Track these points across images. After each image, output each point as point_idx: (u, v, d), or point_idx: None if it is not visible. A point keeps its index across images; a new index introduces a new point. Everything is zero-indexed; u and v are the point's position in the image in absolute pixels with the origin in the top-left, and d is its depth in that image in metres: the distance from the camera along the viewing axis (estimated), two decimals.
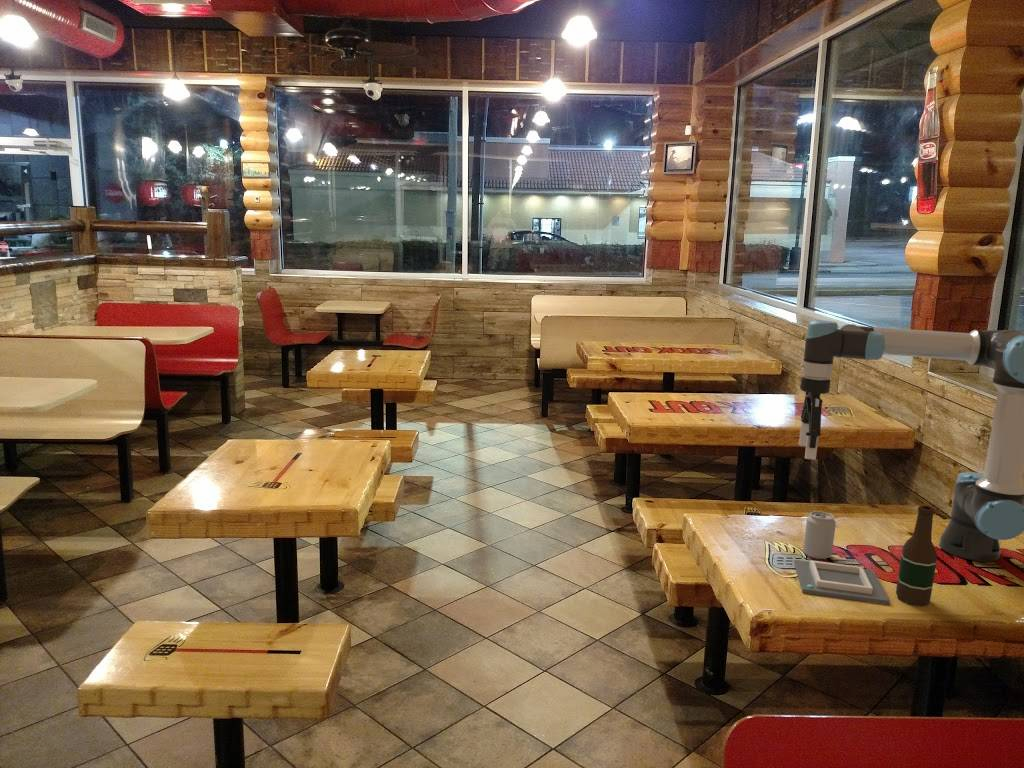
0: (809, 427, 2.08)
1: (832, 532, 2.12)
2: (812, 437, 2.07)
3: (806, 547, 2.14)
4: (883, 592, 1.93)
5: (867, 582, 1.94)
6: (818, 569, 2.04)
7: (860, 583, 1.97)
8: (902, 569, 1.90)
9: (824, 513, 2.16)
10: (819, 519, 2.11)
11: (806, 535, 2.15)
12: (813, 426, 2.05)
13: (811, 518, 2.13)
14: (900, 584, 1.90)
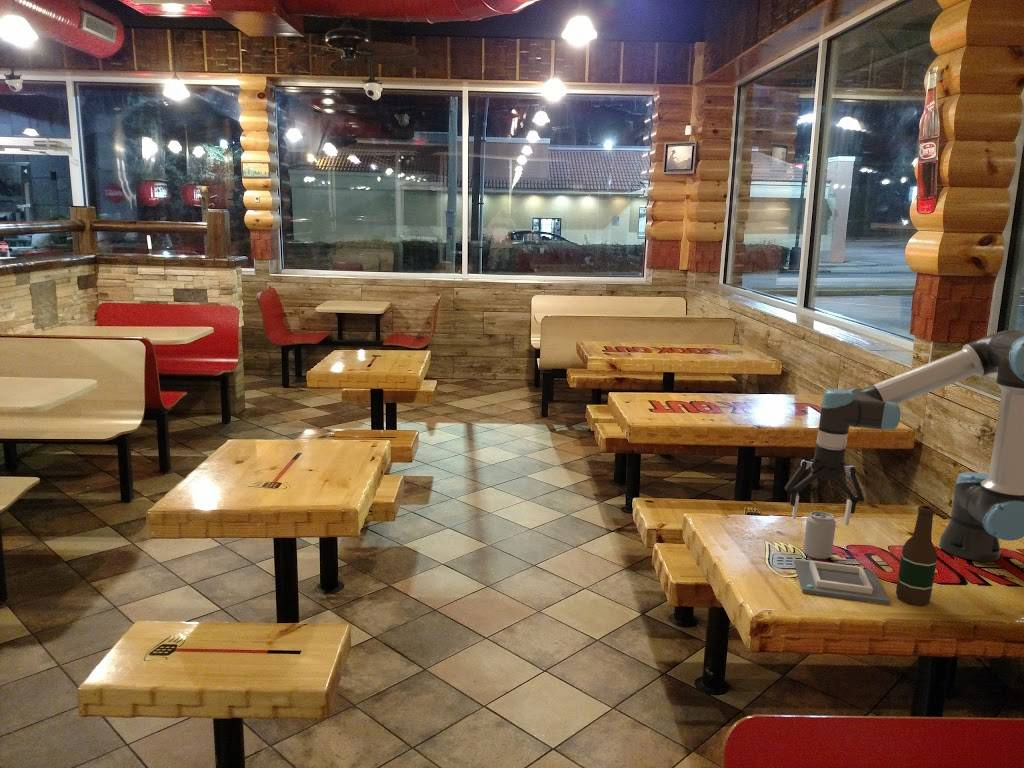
0: (796, 485, 2.15)
1: (832, 532, 2.12)
2: None
3: (806, 547, 2.14)
4: (883, 592, 1.93)
5: (867, 582, 1.94)
6: (818, 569, 2.04)
7: (860, 583, 1.97)
8: (902, 569, 1.90)
9: (824, 513, 2.16)
10: (819, 519, 2.11)
11: (806, 535, 2.15)
12: (788, 482, 2.15)
13: (811, 518, 2.13)
14: (900, 584, 1.90)
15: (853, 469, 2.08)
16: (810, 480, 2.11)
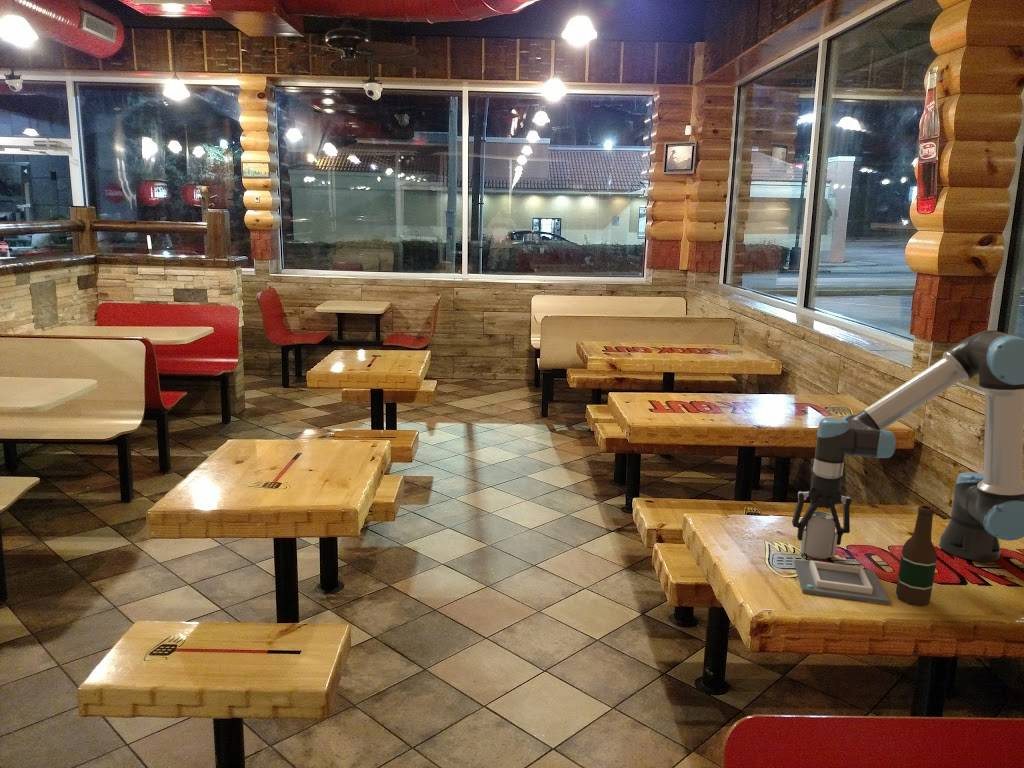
0: (801, 519, 2.16)
1: (832, 532, 2.12)
2: (798, 528, 2.16)
3: (806, 547, 2.14)
4: (883, 592, 1.93)
5: (867, 582, 1.94)
6: (818, 569, 2.04)
7: (860, 583, 1.97)
8: (902, 569, 1.90)
9: (824, 513, 2.16)
10: (819, 519, 2.11)
11: (806, 535, 2.15)
12: (793, 516, 2.16)
13: (811, 518, 2.13)
14: (900, 584, 1.90)
15: (849, 501, 2.10)
16: (812, 511, 2.13)
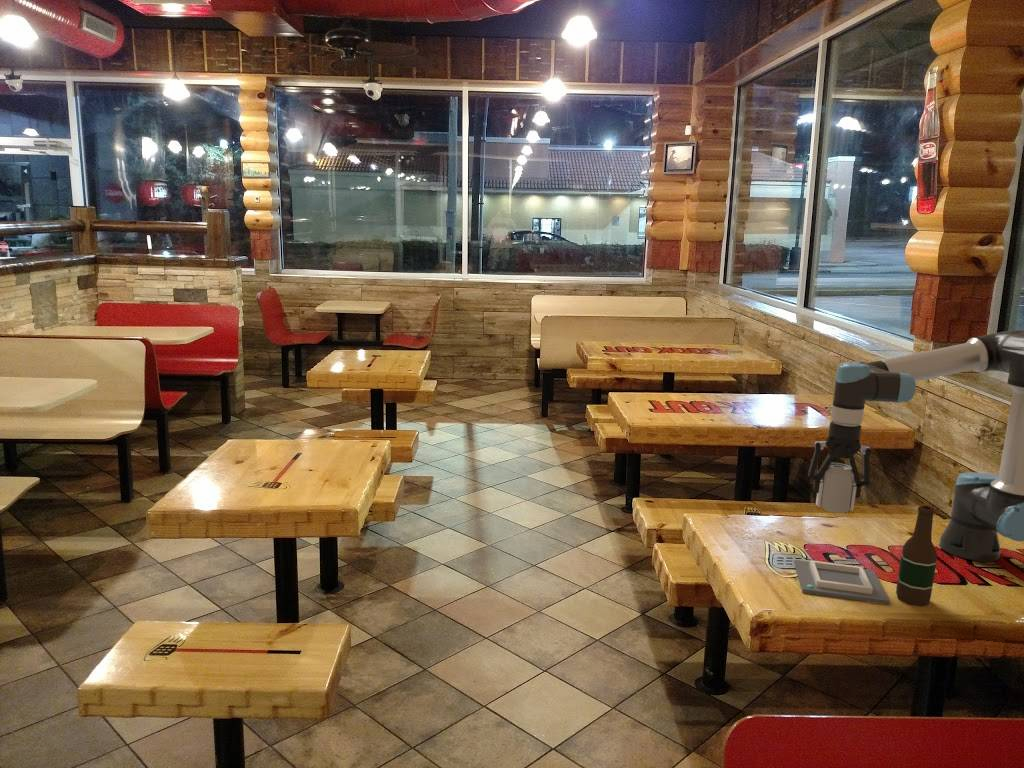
0: (818, 471, 2.05)
1: (850, 484, 2.00)
2: (814, 480, 2.05)
3: (823, 499, 2.03)
4: (883, 592, 1.93)
5: (867, 582, 1.94)
6: (818, 569, 2.04)
7: (860, 583, 1.97)
8: (902, 569, 1.90)
9: (842, 464, 2.04)
10: (837, 470, 2.00)
11: (823, 487, 2.03)
12: (809, 468, 2.05)
13: (828, 469, 2.02)
14: (900, 584, 1.90)
15: (869, 450, 1.98)
16: (829, 462, 2.01)
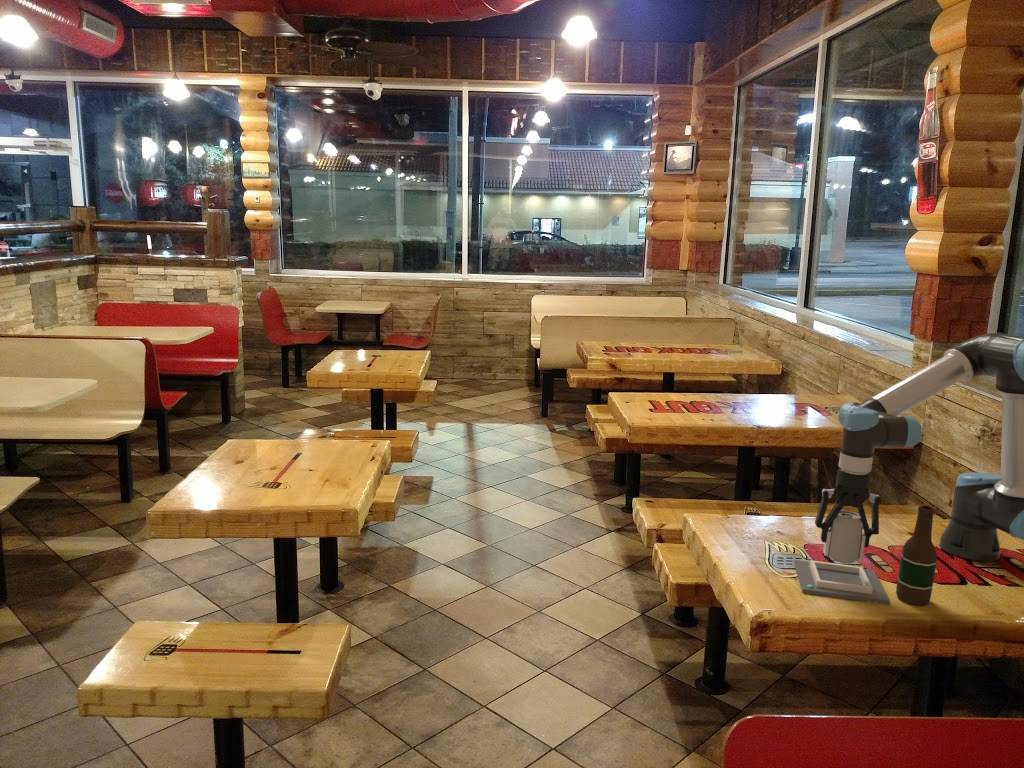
0: (825, 519, 1.98)
1: (860, 533, 1.93)
2: None
3: (831, 549, 1.96)
4: (883, 592, 1.93)
5: (867, 582, 1.94)
6: (818, 569, 2.04)
7: (860, 583, 1.97)
8: (902, 569, 1.90)
9: (850, 512, 1.98)
10: (845, 519, 1.93)
11: (831, 536, 1.96)
12: (817, 516, 1.98)
13: (836, 518, 1.95)
14: (900, 584, 1.90)
15: (878, 499, 1.92)
16: (837, 510, 1.95)
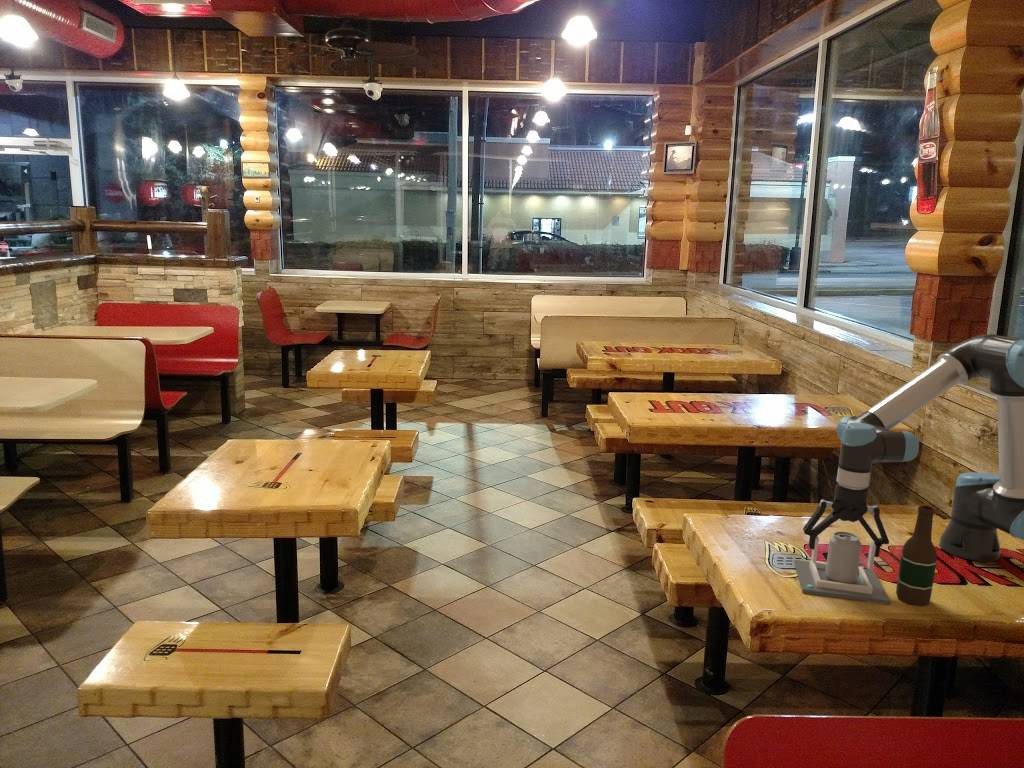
0: (815, 527, 1.99)
1: (858, 555, 1.94)
2: None
3: (830, 570, 1.97)
4: (883, 592, 1.93)
5: (867, 582, 1.94)
6: (818, 569, 2.04)
7: (860, 583, 1.97)
8: (902, 569, 1.90)
9: (848, 533, 1.99)
10: (844, 541, 1.94)
11: (829, 558, 1.97)
12: (807, 523, 1.99)
13: (835, 539, 1.96)
14: (900, 584, 1.90)
15: (877, 510, 1.92)
16: (830, 522, 1.96)
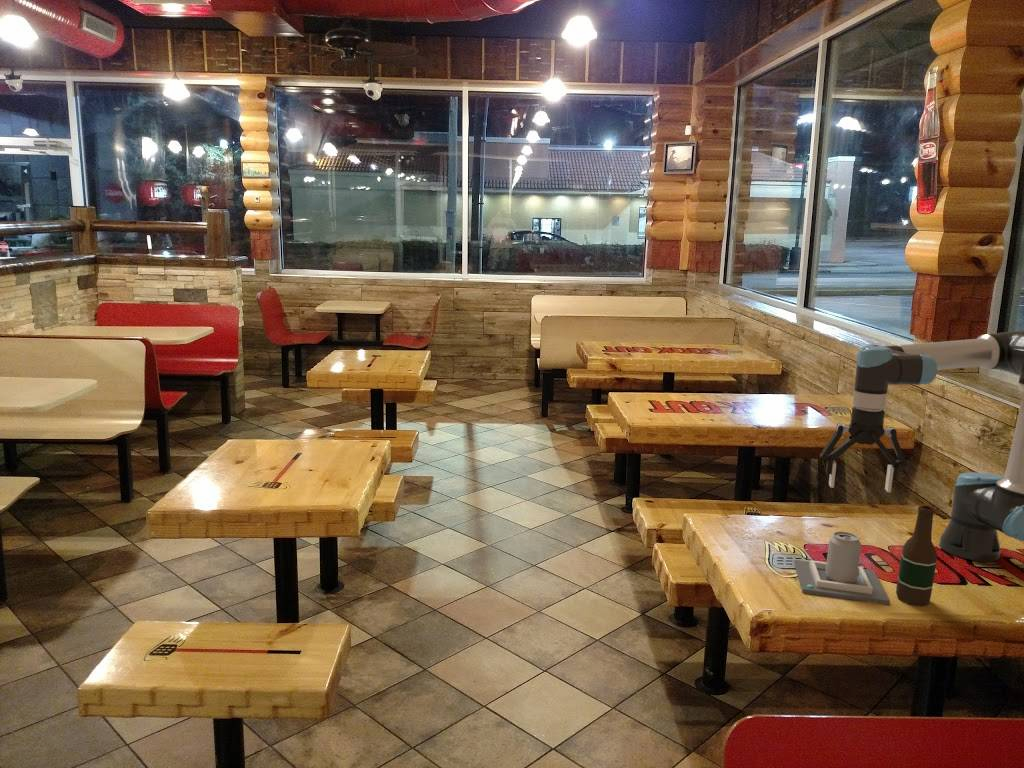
0: (832, 452, 2.00)
1: (858, 554, 1.94)
2: None
3: (830, 570, 1.97)
4: (883, 592, 1.93)
5: (867, 582, 1.94)
6: (818, 569, 2.04)
7: (860, 583, 1.97)
8: (902, 569, 1.90)
9: (848, 533, 1.99)
10: (843, 540, 1.94)
11: (829, 558, 1.97)
12: (824, 449, 2.00)
13: (834, 539, 1.96)
14: (900, 584, 1.90)
15: (894, 431, 1.93)
16: (848, 445, 1.96)
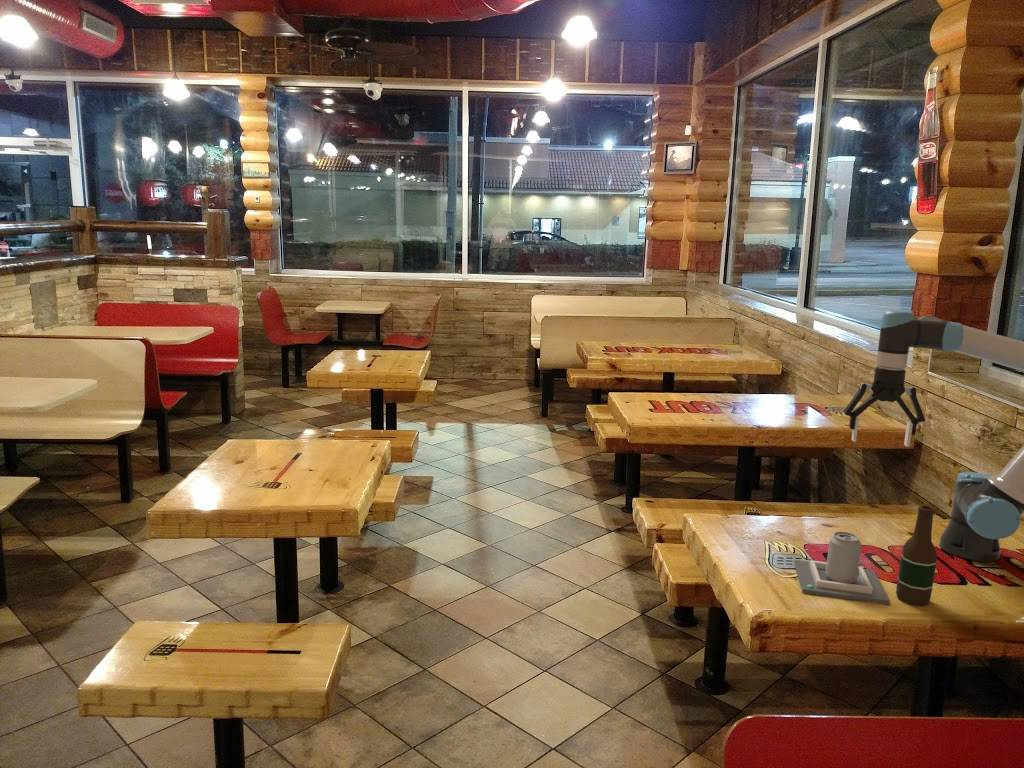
0: (855, 409, 2.15)
1: (858, 555, 1.94)
2: (850, 417, 2.15)
3: (830, 570, 1.97)
4: (883, 592, 1.93)
5: (867, 582, 1.94)
6: (818, 569, 2.04)
7: (860, 583, 1.97)
8: (902, 569, 1.90)
9: (848, 533, 1.99)
10: (844, 540, 1.94)
11: (829, 558, 1.97)
12: (848, 405, 2.15)
13: (835, 539, 1.96)
14: (900, 584, 1.90)
15: (914, 389, 2.09)
16: (870, 402, 2.12)
